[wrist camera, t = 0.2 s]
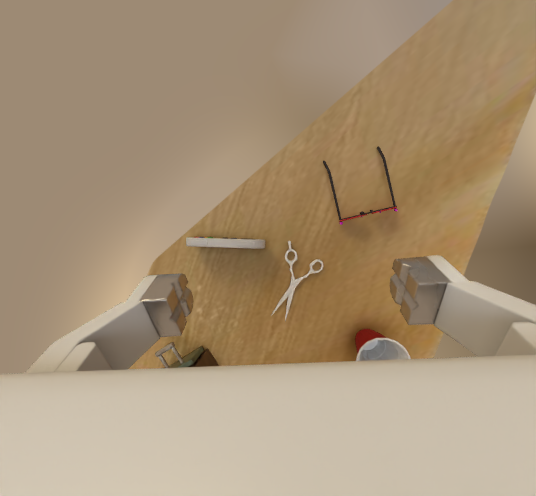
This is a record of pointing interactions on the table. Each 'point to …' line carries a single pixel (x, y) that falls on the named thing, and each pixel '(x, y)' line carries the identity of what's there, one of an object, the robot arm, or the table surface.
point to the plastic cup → (378, 347)
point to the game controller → (224, 242)
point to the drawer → (182, 362)
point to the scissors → (294, 282)
